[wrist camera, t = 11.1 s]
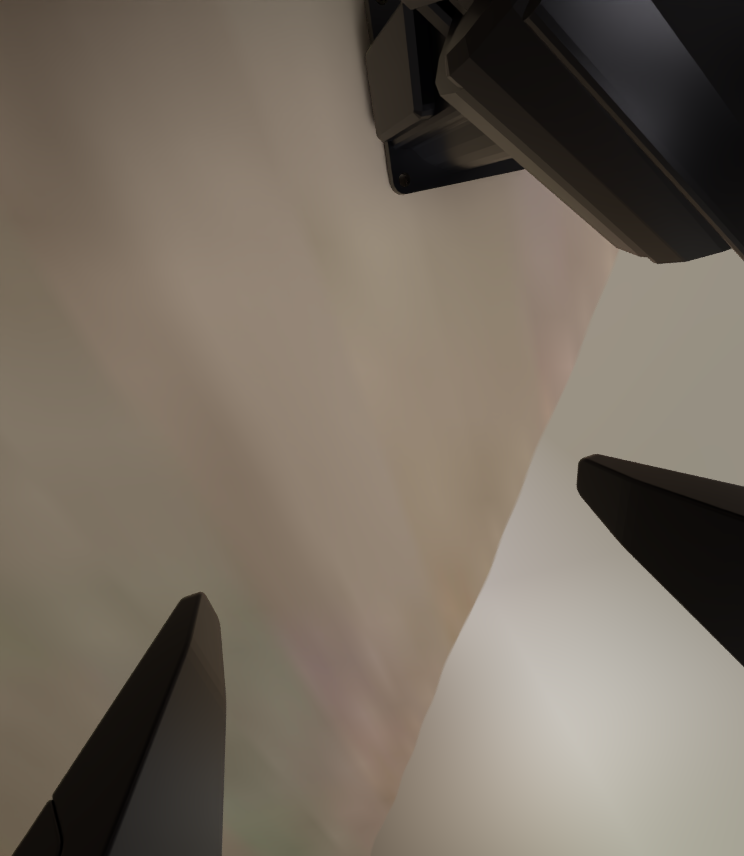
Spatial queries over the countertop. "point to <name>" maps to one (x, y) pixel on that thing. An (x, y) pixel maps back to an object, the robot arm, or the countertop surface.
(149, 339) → the countertop surface
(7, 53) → the countertop surface
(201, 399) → the countertop surface
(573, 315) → the countertop surface
